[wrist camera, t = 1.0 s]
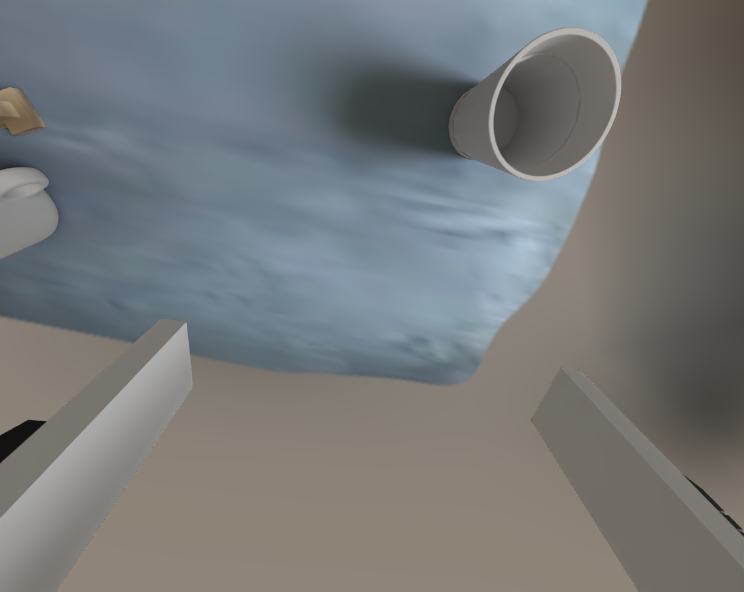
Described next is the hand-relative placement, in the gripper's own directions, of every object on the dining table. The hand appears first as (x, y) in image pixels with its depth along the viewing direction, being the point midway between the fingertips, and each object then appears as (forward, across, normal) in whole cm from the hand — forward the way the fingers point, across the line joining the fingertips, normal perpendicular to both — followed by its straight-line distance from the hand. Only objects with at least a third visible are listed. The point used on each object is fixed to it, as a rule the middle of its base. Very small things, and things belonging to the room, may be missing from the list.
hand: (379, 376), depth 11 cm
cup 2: (+25, +10, +11) cm, 29 cm away
